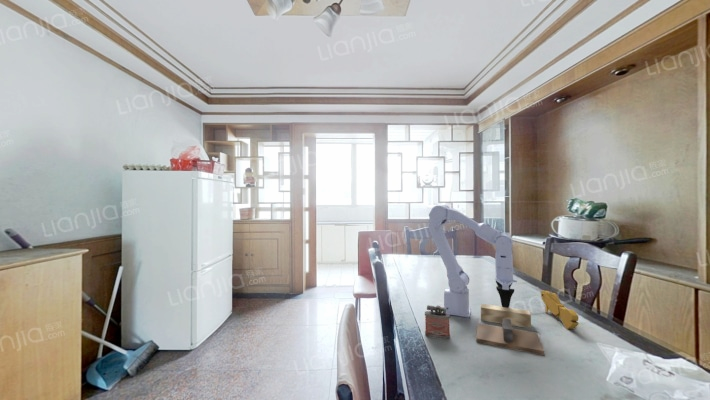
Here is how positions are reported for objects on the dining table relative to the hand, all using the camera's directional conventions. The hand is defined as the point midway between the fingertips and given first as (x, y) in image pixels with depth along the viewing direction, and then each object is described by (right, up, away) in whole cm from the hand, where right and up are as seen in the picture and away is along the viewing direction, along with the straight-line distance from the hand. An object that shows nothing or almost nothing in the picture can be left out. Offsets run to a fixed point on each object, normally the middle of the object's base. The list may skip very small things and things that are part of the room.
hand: (504, 303), depth 101 cm
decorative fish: (+21, -7, +1) cm, 22 cm away
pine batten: (0, -7, 0) cm, 7 cm away
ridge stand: (-6, -7, -13) cm, 16 cm away
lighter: (-28, -7, -10) cm, 31 cm away
